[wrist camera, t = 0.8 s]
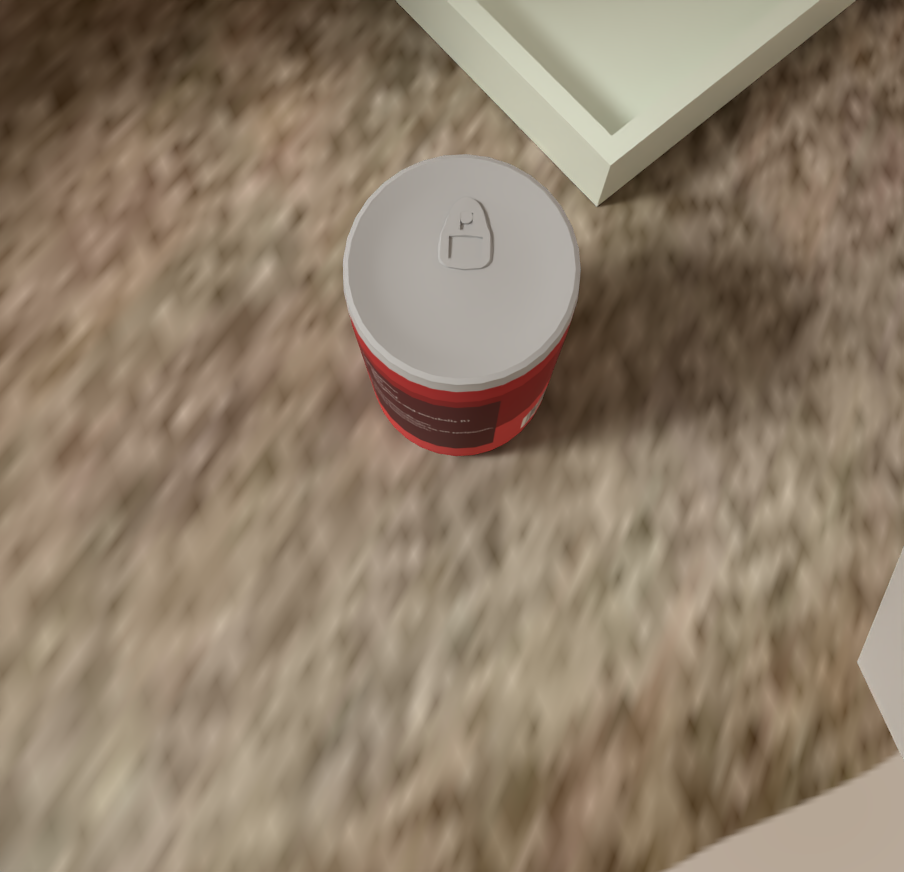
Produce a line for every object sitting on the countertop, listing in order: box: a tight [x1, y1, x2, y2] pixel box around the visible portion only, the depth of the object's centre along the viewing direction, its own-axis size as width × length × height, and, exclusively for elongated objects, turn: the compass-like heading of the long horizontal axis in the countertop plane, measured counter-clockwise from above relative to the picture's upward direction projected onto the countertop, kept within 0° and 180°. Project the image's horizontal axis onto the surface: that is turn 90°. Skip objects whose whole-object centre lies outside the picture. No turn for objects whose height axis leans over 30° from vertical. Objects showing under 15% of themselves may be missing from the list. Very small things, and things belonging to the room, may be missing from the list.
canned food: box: [343, 154, 581, 456], centre depth 32 cm, size 8×8×11 cm
